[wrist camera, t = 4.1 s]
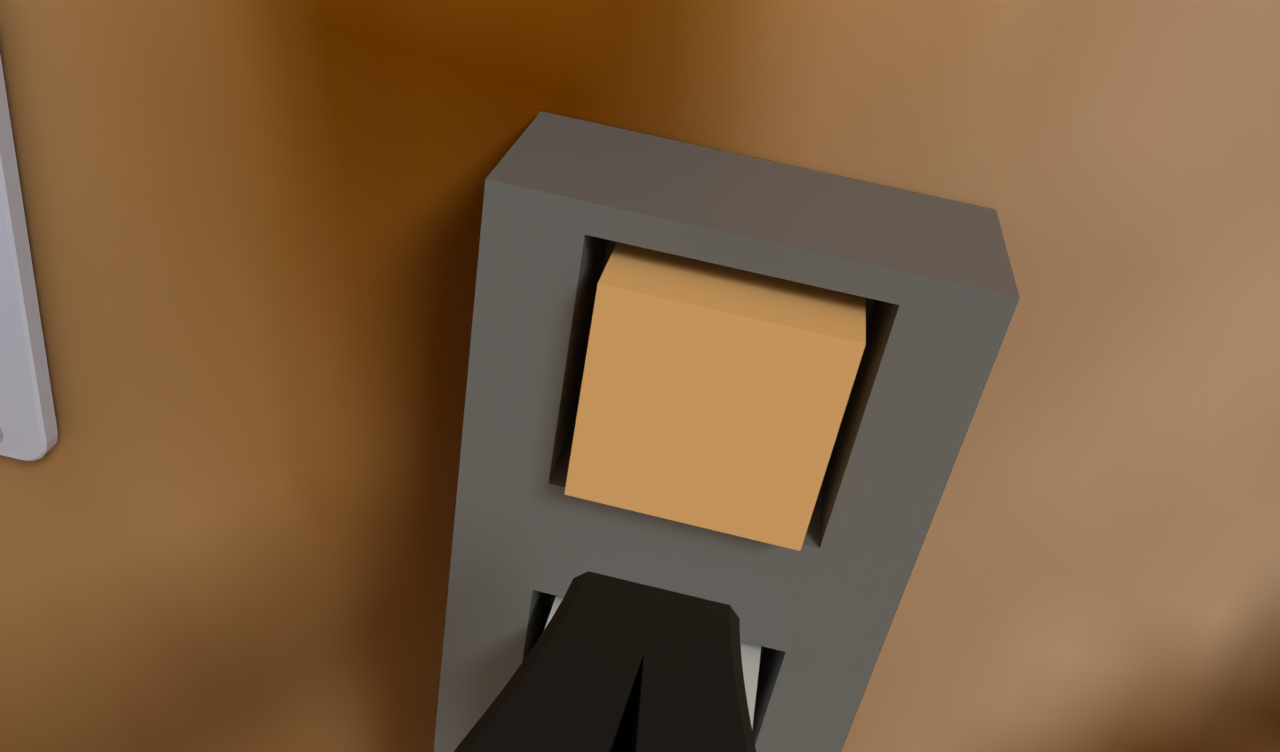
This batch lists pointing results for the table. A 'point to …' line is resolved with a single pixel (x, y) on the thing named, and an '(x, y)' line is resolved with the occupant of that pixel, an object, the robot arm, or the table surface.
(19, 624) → the table surface
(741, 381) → the orange key
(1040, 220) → the table surface
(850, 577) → the grey button panel
